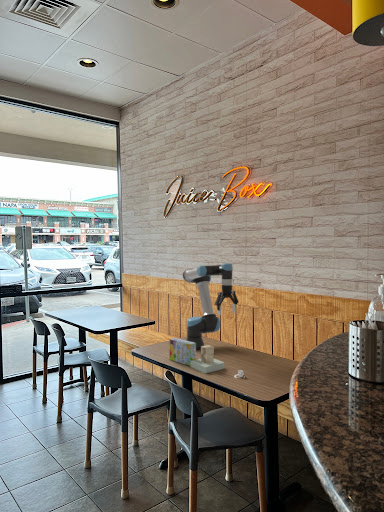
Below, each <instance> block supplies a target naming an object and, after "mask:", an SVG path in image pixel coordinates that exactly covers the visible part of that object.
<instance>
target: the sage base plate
mask: <svg viewBox="0 0 384 512" xmlns="http://www.w3.org/2000/svg"><path fill="white" fill-rule="evenodd" d="M190 368H192V369H195V370H196V371H199V372H200V373H203V374H208V373H212V372H217V371H219V370H223V369H225V362H224V361H221V360H219V359H216V358H214V362H212V363H208V364H206V363H204V362H201V358H198V359H197V358H196V360H192V361H191V366H190Z"/></svg>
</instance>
